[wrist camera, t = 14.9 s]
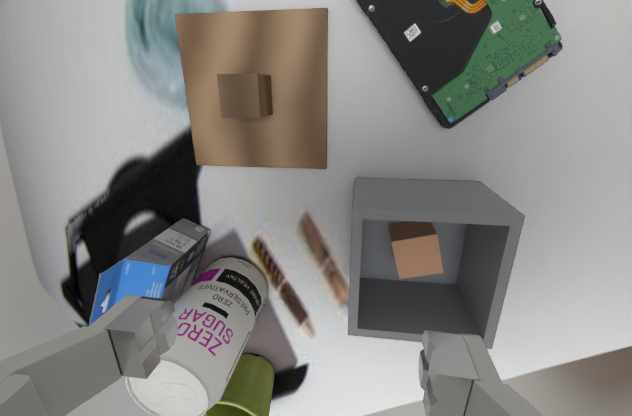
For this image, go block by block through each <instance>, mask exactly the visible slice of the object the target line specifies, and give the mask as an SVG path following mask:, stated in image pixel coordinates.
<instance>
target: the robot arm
mask: <svg viewBox="0 0 632 416" xmlns="http://www.w3.org/2000/svg"><path fill="white" fill-rule="evenodd" d="M174 311H175V307H174V303H173V302H172V301H170V300H167V299H160V298H153V297H146V296H137V295H127V296H124V297H123V298H122V299H121V300H120V301H118V302H117V303H116V304H115V305H114V306H113V307H111V308H110V309H109V310H108V311H107V312H105V313H104V314H103V315H102V316H101V317H99V318H98V319H97V320H96V321H95V322H93V323H92V324H91V325H90V326H89V327H81V328H79V329H77V330H74V331H72V332H69V333H67V334H64V335H62V336H60V337H57V338H55V339H52V340H50V341H48V342H45V343H43V344H41V345H38V346H35V347H33V348H30V349H28V350H26V351H23V352H21V353H18V354H16V355H14V356H11V357H9V358H6V359H4V360H2V361H0V416H65V415H67V414H68V413H70V412H71V411H72V410H74V409H75V408H77V407H78V406H80V405H81V404H83V403H84V402H86V401H87V400H89V399H90V398H92V397H93V396H95V395H96V394H98V393H99V392H101V391H102V390H104V389H105V388H106V387H108V386H110V385H111V384H113V383H114V382H116V381H117V380H118V379H120V378H121V376H126V377H134V378H142V379H147V378H148V377H149V376H150V374H151V373H152V372H153V370H154V369H155V368H156V367H157V365H158V364H159V363H160V355H162V354H163V353H165V352H167V351H169V350H170V348H171V347H172V346H173V344H174V343H175V340H176V337H177V335H178V322H177V320H176V319H175V318H174V317H173V315H172V314H173V313H174ZM422 342H423V347H424V349H423V350H422V351H421V352H420V357H419V379H420V385H421V387H422V388H423V390H424V391H425V393H424V399H423V403H424V408H425V414H426V416H544V415H543V414H542V413H541V412H540V411H539V410H537V409H536V408H535V407H534V406H533V405H532V404H530V403H529V402H528V401H527V400H526V399H525V398H523V397H522V396H521V395H520V394H519V393H518V392H516V391H515V390H514V389H513V388H512V387H510V386H509V385H506V384H502V381H501V379H500V377H499V375H498V373H497V370H496V368H495V366H494V364H493V362H492V359H491V357H490V355H489V353H488V351H487V348H486V346H485V344H484V342H483V340H482V338H481V337H480V336H479V335H472V334H462V333H461V334H458V333H449V332H440V331H431V330H425V331H424V333H423V338H422Z"/></svg>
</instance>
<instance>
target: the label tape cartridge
mask: <svg viewBox="0 0 632 416" xmlns="http://www.w3.org/2000/svg"><path fill="white" fill-rule="evenodd" d="M209 233H210V229H208V228H206V227H204V226H201V225H199V224H197V223H195V222H192V221H190V220H188V219H185V218H182V219H181V220H179V221H178V222H177V223H175V224H174V225H172V226H171V227H169V228H168V229H166V230H165V231H164V232H162V233H161V234H159V235H158V236H156V237H155V238H154V239H152V240H151V241H149V242H148V243H146V244H145V245H144V246H142V247H141V248H139V249H138V250H136V251H135V252H133V253H132V254H131V255H129V256H128V257H126V258H125V259H123V260H121V261H120V262H118V263H117V264H115V265H114V266H112V267H111V268H109V269H107V270H106V271H104V272H103V273H100V274H99V281H98V285H97V290H96V295H95V299H94V304H93V308H92V313H91V317H90V322H89V326H90V325H91V324H92V323H93V322H95V321H96V320H97V319H98V318H99V317H101V316H102V315H103V314H104V313H105V312H107V311H108V310H109V309H110V308H111V307H113V306H114V305H115V304H116V303H117V302H118V301H120V300H121V299H122V298H123V297H124V296H127V295H137V296H146V297H153V298H160V299H167V300H170V301H172V302H173V303H175V302H176V301H177V300H178V298H179V297H180V296H181V295H182V294H183V293H184V292H185V291H186V290H187V289H188V287H189V286H190V285H191V284H192V281H193V279H194V276H195V273H196V270H197V267H198V264H199V262H200V259H201V256H202V253H203V251H204V248H205V245H206V242H207V239H208V236H209ZM109 289H111V292H110V297H109V301H108V305H107V309H106V311H105V312H104V313H102V309H103V307H101V304H102V303H103V301H104V300H105V298H106V293H107V291H108V290H109Z"/></svg>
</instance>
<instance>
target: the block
mask: <svg viewBox="0 0 632 416" xmlns="http://www.w3.org/2000/svg"><path fill="white" fill-rule="evenodd" d="M388 227H389V232H390V237H391V243H392V247H393V252H394V257H395V261H396V266H397V271H398V275H399V279H404V278H411V277H418V276H424V275H431V274H438V273H443V267H442V261H441V254H440V248H439V242H438V236H437V233H436V231H435V229H434V227H433V225H432V223H431V222H416V221H404V222H398V223H393V224H388Z"/></svg>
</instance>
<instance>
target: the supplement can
mask: <svg viewBox="0 0 632 416" xmlns="http://www.w3.org/2000/svg"><path fill="white" fill-rule="evenodd" d="M267 296H268V290H267V283H266V281H265V279H264V277H263V275H262V274H261V273H260V272H259V271H258V270H257V269H256V268H255V266H253V265H251V264H250V263H248V262H246V261H244V260H241V259H237V258H232V257H231V258H221V259H219V260H217V261H215V262H213V263H211V264H210V265H209V266H208V268H207V269H206V270H205V271H204V272H203V273H202V274H201V275H200V277H199V278H198V279H197V280H196V281H195V282H194V283H193V285H192V286H191V287H190V288H189V289H188V290H187V291H186V293H185V294H184V295H183V296H182V297H181V298H180V299H179V300H178V302H177V303H176V304H175V305H174V307H175V311H174V313H173V314H172V315H173V317H174V318H175V319H176V320H177V322H178V335H177V337H176V340H175V343H174V344H173V346H172V347H171V348H170V350H169V351H167V352H165V353H163V354H162V355H160V363H159V364H158V365H157V367H156V368H155V369H154V370H153V372H152V373H151V374H150V376H149V377H148V378H147V379H142V378H134V377H126V385H127V388H128V392H129V394H130V395H131V397H132V398H133V399H134V401H135V402H136V404H138V405H139V406H140V407H141V408H142V409H144V410H145V411H146V412H147V413H149V414H151V415H153V416H203V415H204V414H205V413H206V411H207V410H209V409H210V408H211V407H213V406H214V405H215V404H216V403H217V402H218V401H219V400H220V399H221V397H222V395H223V393H224V391H225V389H226V386H227V384H228V382H229V380H230V378H231V376H232V373H233V371H234V369H235V367H236V365H237V363H238V360H239V358H240V356H241V354H242V352H243V350H244V347H245V345H246V343H247V341H248V339H249V337H250V334H251V332H252V330H253V328H254V326H255V324H256V321H257V319H258V317H259V315H260V313H261V311H262V308H263V306H264V304H265V301H266V299H267Z"/></svg>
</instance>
